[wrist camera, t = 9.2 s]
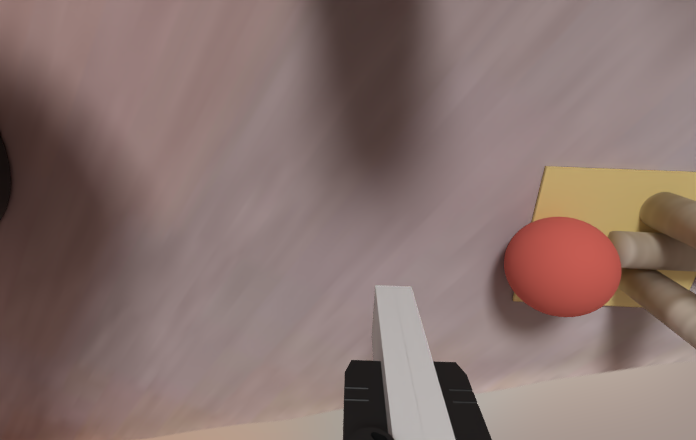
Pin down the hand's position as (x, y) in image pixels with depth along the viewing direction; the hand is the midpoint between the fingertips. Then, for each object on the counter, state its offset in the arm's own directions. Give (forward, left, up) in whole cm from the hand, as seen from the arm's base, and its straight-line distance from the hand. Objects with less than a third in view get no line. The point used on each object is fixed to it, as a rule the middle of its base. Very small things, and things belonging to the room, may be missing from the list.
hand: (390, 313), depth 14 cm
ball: (+11, -1, -7) cm, 13 cm away
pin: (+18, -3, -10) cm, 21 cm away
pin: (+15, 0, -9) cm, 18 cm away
